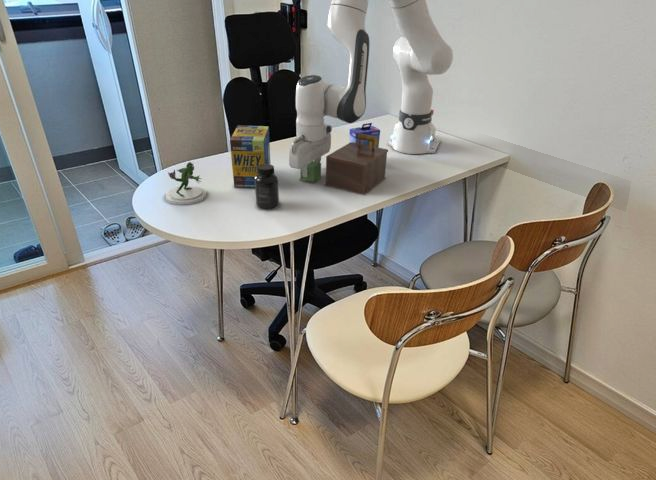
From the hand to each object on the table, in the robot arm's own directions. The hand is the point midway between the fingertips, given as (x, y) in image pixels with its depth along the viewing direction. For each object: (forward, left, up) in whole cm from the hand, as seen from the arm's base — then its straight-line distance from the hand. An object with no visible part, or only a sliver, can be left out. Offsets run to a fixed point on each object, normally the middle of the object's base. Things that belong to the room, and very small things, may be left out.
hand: (310, 173), depth 163 cm
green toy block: (0, 0, -2) cm, 2 cm away
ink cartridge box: (-23, +8, -2) cm, 24 cm away
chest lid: (-6, +14, +7) cm, 17 cm away
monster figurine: (+32, -25, -2) cm, 41 cm away
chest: (-6, +14, -2) cm, 15 cm away
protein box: (+10, -16, -2) cm, 19 cm away
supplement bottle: (+24, 0, -2) cm, 24 cm away
